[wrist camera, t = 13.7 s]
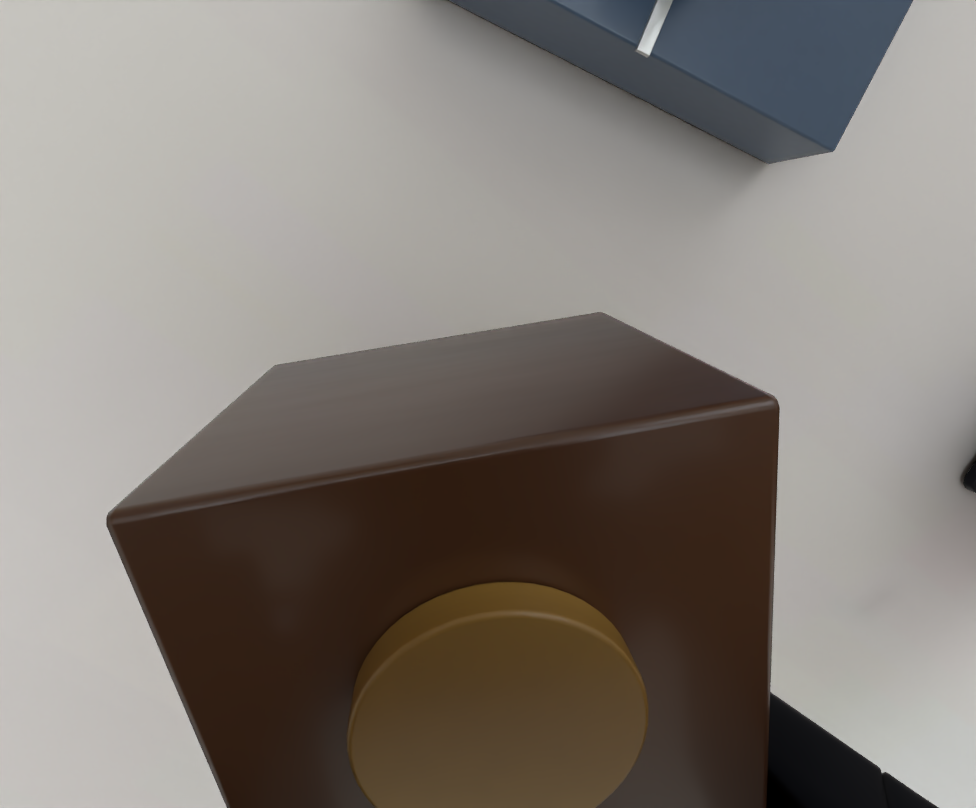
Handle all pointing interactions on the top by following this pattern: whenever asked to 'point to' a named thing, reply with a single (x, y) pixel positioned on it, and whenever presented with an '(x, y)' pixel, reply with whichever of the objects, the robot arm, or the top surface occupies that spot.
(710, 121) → the dial panel
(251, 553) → the token holder
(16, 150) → the top surface
